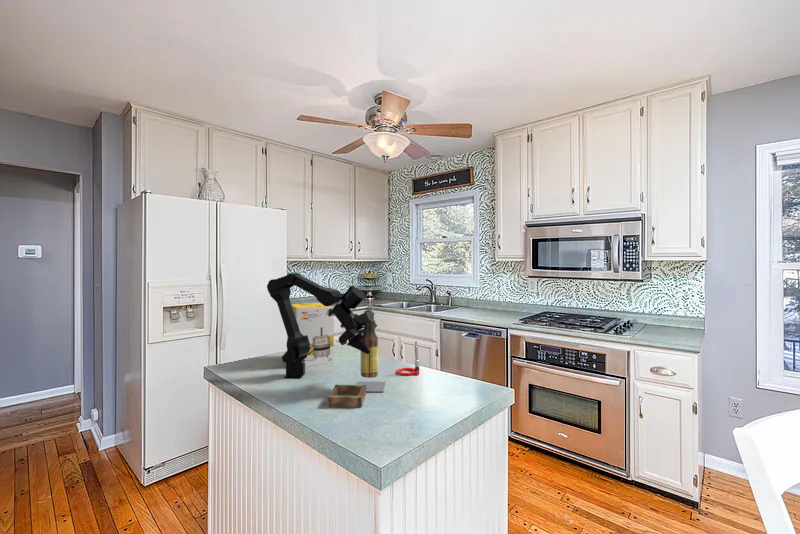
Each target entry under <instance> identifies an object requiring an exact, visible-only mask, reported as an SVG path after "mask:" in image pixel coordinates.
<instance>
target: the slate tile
mask: <svg viewBox="0 0 800 534" xmlns="http://www.w3.org/2000/svg"><path fill="white" fill-rule="evenodd" d="M386 384H387V383H386V381H366V380H365V381H364V380H363V381H360V380H359V381H358V382H357V384H356V385H366V394H367V393H369V394H370V393H374V394H375V393H379V394H382V393H383V394H384V393H385V392H384V391H385V388H386Z"/></svg>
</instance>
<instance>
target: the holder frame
mask: <svg viewBox="0 0 800 534" xmlns="http://www.w3.org/2000/svg"><path fill="white" fill-rule="evenodd" d="M366 396H367V393H366V385H357V384H335V385H334V387H333V388H332V390H331V391H330V393H329V395H328V396H327V407H328V408H329V407H330V408H362V406H363V404H364V401H365V399H366Z"/></svg>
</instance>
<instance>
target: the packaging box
mask: <svg viewBox="0 0 800 534" xmlns="http://www.w3.org/2000/svg"><path fill="white" fill-rule="evenodd" d="M291 305H292V308H293V311H294V314H295V317H296V321H297V324H298V327H299V330H300V332H301V334H302V335H303V336H305V335H307V336H308V340H309V342H310V344H311V345H310V351H309V353H308V355H307V358H305V359H304V363H305V368H306V366H307V367H313V365H314V366H320V365H319V364H321V365H328V364H327V363H329V364H334V363H335V353H334V352H335V350H334V349H335V344H334V343H335V339H334V338H335V332H334V331H335V329H334V327H335V325H334V324H335V323H334V322H335V320H334V319H335V315H334V316H328V313H329V309H332V308H334V306H335V305H332V306H324V305H323V304H321V303H320V302H312V303H296V304H295V303H293V304H292V303H291ZM333 362H334V363H333Z"/></svg>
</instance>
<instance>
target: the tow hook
mask: <svg viewBox="0 0 800 534" xmlns="http://www.w3.org/2000/svg"><path fill="white" fill-rule="evenodd" d="M414 358H415V359H414V368H413V367H402V368H398V369H396V371H395V373H396V375H398V374H399V375H400V376H404V377H405V376H414V375H416V376H419V375H420V363H419V362H420V361H419V350H418V341H417V340H415V341H414ZM405 370H406V371H409V372H406V371H405Z"/></svg>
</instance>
